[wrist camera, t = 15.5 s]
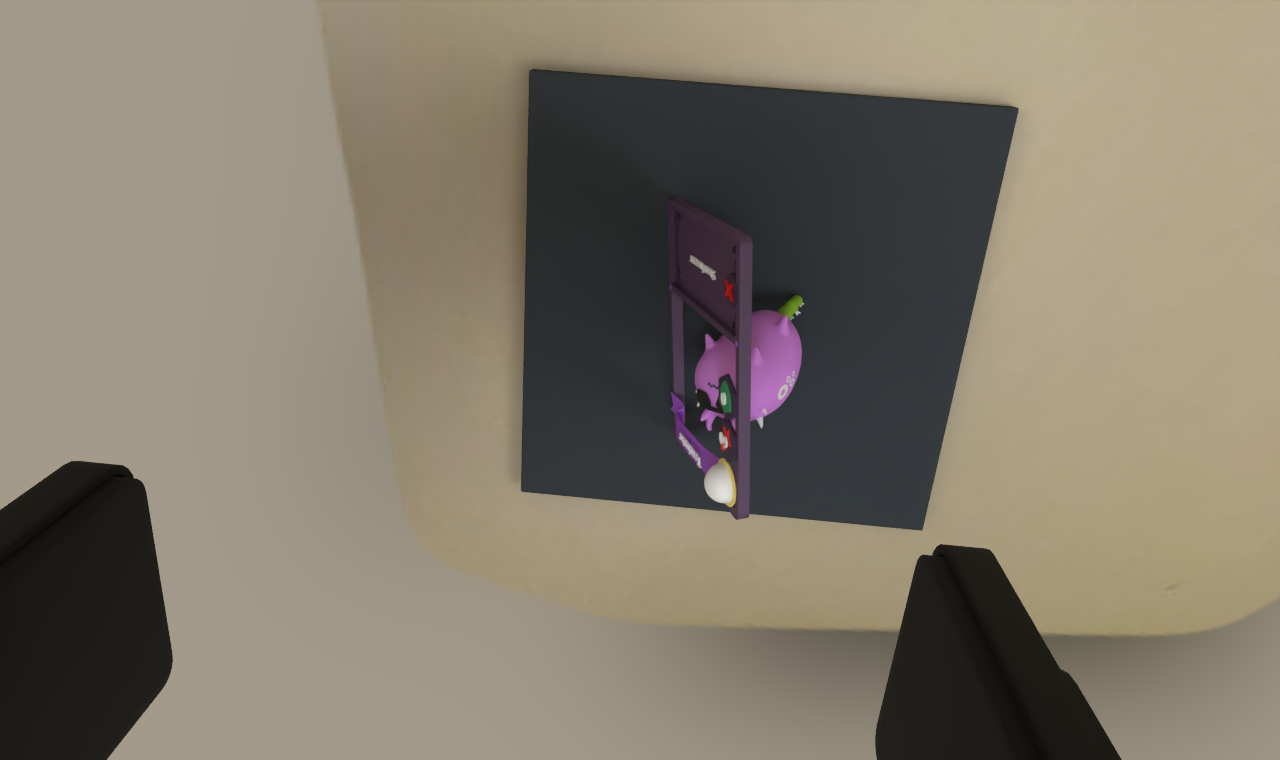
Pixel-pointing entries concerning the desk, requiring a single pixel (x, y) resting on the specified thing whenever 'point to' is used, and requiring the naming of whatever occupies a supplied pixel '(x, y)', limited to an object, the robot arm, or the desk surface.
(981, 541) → the desk surface
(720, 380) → the purple toy figure
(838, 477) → the mat
